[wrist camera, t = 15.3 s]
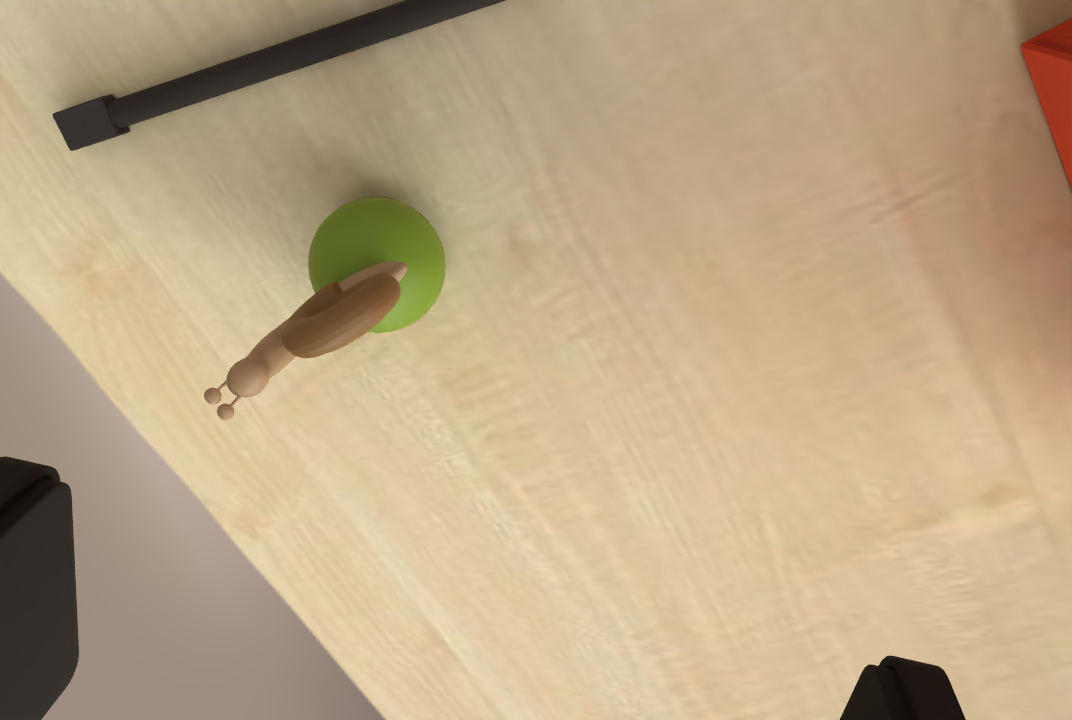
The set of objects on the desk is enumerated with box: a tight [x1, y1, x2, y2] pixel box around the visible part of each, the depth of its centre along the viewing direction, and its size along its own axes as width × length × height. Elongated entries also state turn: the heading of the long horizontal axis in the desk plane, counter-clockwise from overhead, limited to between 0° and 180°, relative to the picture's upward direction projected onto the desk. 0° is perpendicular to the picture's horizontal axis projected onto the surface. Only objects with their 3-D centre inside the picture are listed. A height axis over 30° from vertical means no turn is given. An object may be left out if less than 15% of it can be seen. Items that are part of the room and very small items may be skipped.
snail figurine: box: [204, 197, 445, 420], centre depth 33 cm, size 5×6×12 cm
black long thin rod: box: [53, 0, 505, 151], centre depth 35 cm, size 21×2×1 cm, turn 107°
